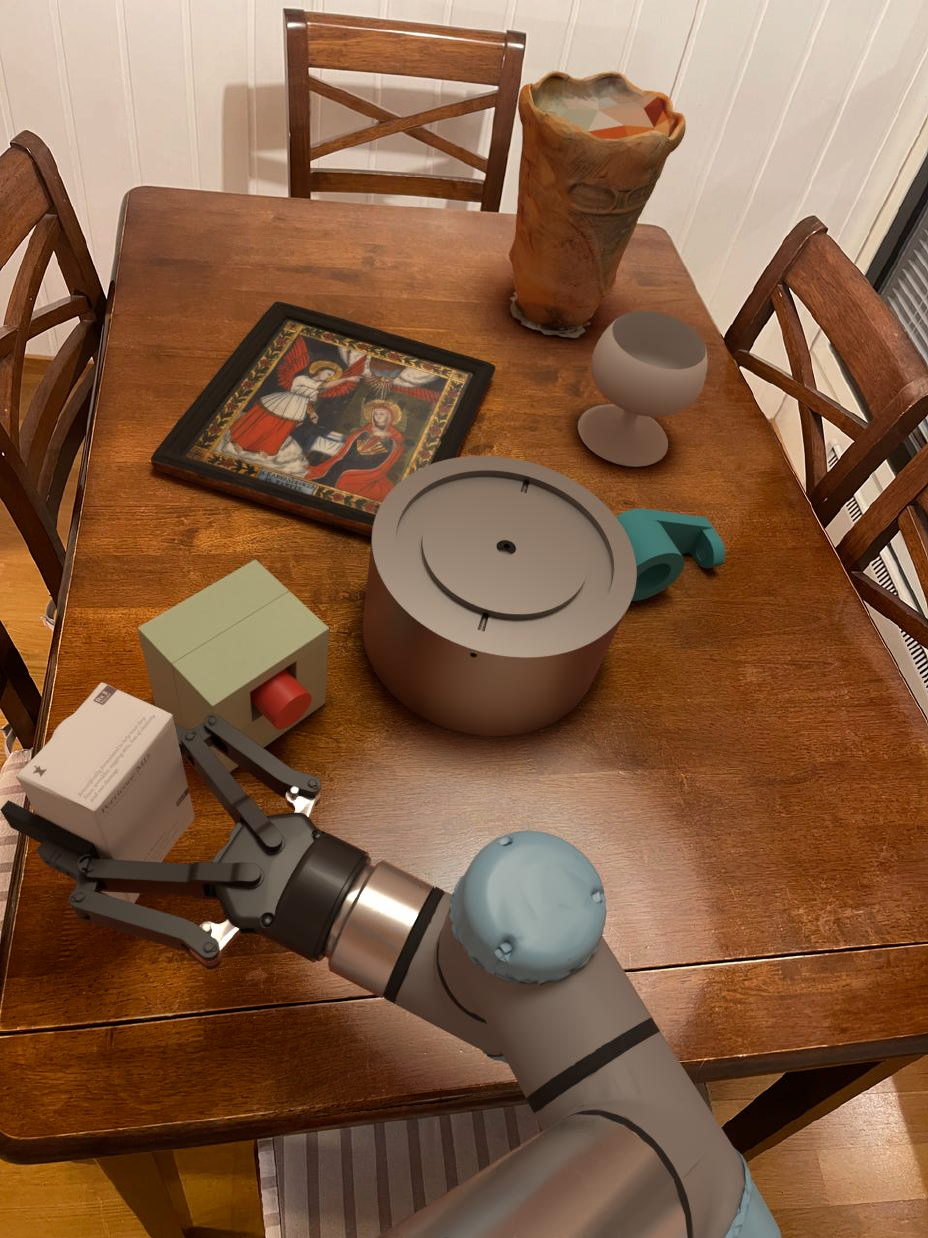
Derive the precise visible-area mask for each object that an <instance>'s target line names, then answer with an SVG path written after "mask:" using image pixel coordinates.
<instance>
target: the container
mask: <svg viewBox="0 0 928 1238" xmlns="http://www.w3.org/2000/svg"><path fill="white" fill-rule="evenodd" d="M367 568H368V570H367V578H366V589H365V590H366V591H365V598H364V608H363V618H362V639H363V644H364V648H365V653H366V656H367V658H368V660H369V664H370V665H371V667H372V669H373V671H374V673H375V674H376V676H377V677H378V679H379V680H380V682H381V683H382V684H383V686H384V687H385V688H386V689H387V690H388V692H389V693H390V694H391V695H392V696H393V697H394V698H395V699H396V700H397V701H399V702H400V703H401V704H402V705H404V706H405V707H406V708H407V709H408V710H410V711H412V712H413V713H415V714H416V715H418V716H419V717H421V718H423V719H425V720H427V721H428V722H431V723H433V724H435V725H437V726H440V727H442V728H446V729H448V730H451V731H455V732H458V733H463V734H467V735H473V736H478V737H479V736H480V737H481V736H483V737H509V736H515V735H516V736H518V735H522V734H523V735H524V734H528V733H531V732H535V731H537V730H540V729H542V728H545V727H547V726H549V725H552V724H554V723H556V722H557V721H559V720H561V719H562V718H563V717H565V716H566V715H568V713H570V712H572V710H573V709H575V707H577V705H578V704H580V702H581V701H582V700H583V699H584V697H585V696H586V695H587V693H588V691H589V689H590V687H591V685H592V683H593V681H594V679H595V677H596V675H597V674H598V672H599V669H600V667H601V665H602V662H603V660H604V658H605V656H606V655H607V652H608V651H609V648H610V646H611V644H612V642H613V640H614V638H615V636H616V633H617V631H618V630H619V628H620V626H621V624H622V621H623V619H624V617H625V615H626V613H627V611H628V609H629V607H630V605H631V602H632V601H631V600H632V598H633V594H634V591H635V586H636V578H637V569H636V560H635V555H634V551H633V548H632V545H631V542H630V540H629V538H628V536H627V534H626V532H625V530H624V528H623V527H622V525H621V524H620V522H619V521H618V519H617V518H616V515H615V514H614V512H613V511H612V510H610V508H609V507H608V506H607V505H606V504H605V503H604V502H603V501H602V500H601V499H600V498H599V497H597V496H596V495H595V494H594V493H593V492H592V491H590V490H589V489H588V488H586V487H585V486H583V485H582V484H580V483H578V482H577V481H575V480H574V479H572V478H570V477H568V476H566V475H564V474H562V473H561V472H558V471H557V470H555V469H554V470H553V469H551V468H549V467H546V466H544V465H540V464H537V463H535V462H531V461H528V460H523V459H520V458H519V459H518V458H513V457H508V456H507V457H506V456H497V455H468V456H467V455H465V456H459V457H458V456H457V458H452V459H447V460H443V461H440V462H436V463H433V464H431V465H428V466H426V467H423V468H421V469H419V470H417V471H415V472H414V473H412V474H410V475H409V476H407V477H406V478H404V479H403V480H402V481H401V482H399V483H398V484H397V485H396V486H395V487H394V488H393V489H392V490H391V491H390V492H389V494H388V495H387V496H386V498H385V499H384V501H383V502H382V504H381V506H380V508H379V510H378V512H377V514H376V517H375V520H374V525H373V531H372V537H371V541H370V550H369V561H368V567H367Z"/></svg>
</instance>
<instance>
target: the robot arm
mask: <svg viewBox="0 0 928 1238" xmlns="http://www.w3.org/2000/svg"><path fill="white" fill-rule="evenodd" d="M174 725H175V729H176V734H177V739H178V743H179V748H180V752H181V755H183V756H184V760H185V762H186V764H188V763H189V764H190V766H191V767H192V768H193V770H194V771H195V773H197V775H198V776H199V777H200V778H201V780H202V781H203V782H204V784H205V785H206V786H207V788H208V789H209V790H210V792H211V793H212V794H213V796H214V797H215V798H216V800H217V801H218V802H219V803H220V805H221V806H222V807H223V809H224V810H225V811H226V812H227V814H228V815H229V816H230V817H231V819H232V820H233V822H234V824H235V826H234V827H233V829H232V830H231V832H230V834H229V837H228V840H227V843H226V844H224V845H223V846H222V847H221V848H220V849H219V850H218V851H217V852H216V854H215V855H214V857H213V858H212V860H210V861H195V862H193V863H180V862H163V861H162V862H145V861H127V860H109V859H100V858H99V855H98V853H97V851H96V849H95V846H94V844H92V843H90V842H88V841H86V840H84V839H82V838H80V837H78V836H76V835H74V834H73V833H71V832H69V831H67V830H65V829H63V828H61V827H59V826H57V825H55V824H53V823H51V822H49V821H48V820H46V819H44V818H42V817H40V816H38V815H36V813H35V812H33V811H30V810H29V809H26V808H25V807H23V806H21V805H19V804H16V803H15V802H13V801H11V800H9V799H8V800H7V801H6V802H5V803H4V805H2V806H1V808H0V812H1V814H2V815H3V817H4V819H5V820H6V822H7V824H8V826H9V827H10V828H11V829H13V830H15V831H16V832H18V833H20V834H22V835H24V836H26V837H28V838H30V839H32V840H34V841H36V842H37V843H39V845H38V847H37V848H35V851H36V852H37V854H38V855H39V857H40V859H41V860H42V862H43V864H45V865H46V866H47V867H50V869H51V868H52V869H53V870H55V871H57V872H59V873H60V874H62V875H65V876H66V877H69V878H70V879H72V880H74V881H75V882H76V883H75V886H74V889H73V890H72V891H71V893H70V894H69V896H68V903H69V905H70V907H71V908H72V910H73V912H74V914H75V915H76V917H77V919H79V920H80V921H83V922H86V923H90V924H92V925H96V926H99V927H102V928H106V929H109V930H113V931H115V932H119V933H122V934H126V935H129V936H132V937H137V938H140V939H141V940H146V941H149V942H151V943H152V942H153V943H156V944H158V945H163V946H166V947H169V948H172V949H176V950H179V951H182V952H185V953H186V954H188V955H189V956H190V957H191V958H192V959H194V960H195V961H196V962H198V964H200V965H201V966H202V967H204V968H205V969H206V970H216V969H218V967H220V966H221V964H222V961H223V954H224V953H225V952H226V951H227V949H228V948H229V947H230V946H231V945H232V943H234V941H235V940H236V939H237V937H239V935H258V936H261V937H263V938H265V939H267V940H268V941H271V942H273V943H275V944H277V945H278V946H280V947H282V948H284V949H286V950H288V951H290V952H292V953H294V954H296V955H298V956H300V957H302V958H304V959H305V960H307V961H310V962H312V963H314V964H315V963H316V962H321V961H322V960H324V959H325V958H327V959H328V961H327V967H328V970H329V972H331V973H333V974H335V975H336V976H339V977H341V978H343V980H346V981H348V982H350V983H352V984H354V985H356V986H357V987H360V988H361V989H363V990H365V991H368V992H369V993H371V994H373V995H375V996H377V997H379V998H380V999H384V1000H386V1001H388V1002H390V1003H392V1004H393V1005H396V1006H398V1007H399V1008H401V1009H403V1010H405V1011H407V1012H409V1013H410V1014H413V1015H414V1016H416V1017H418V1018H420V1019H422V1020H423V1021H426V1022H427V1023H429V1024H431V1025H433V1026H435V1027H436V1028H439V1029H441V1030H442V1031H445V1032H446V1033H448V1034H450V1035H452V1036H454V1037H456V1038H458V1039H459V1040H461V1041H462V1042H465V1043H466V1044H469V1045H470V1046H472V1047H474V1048H476V1049H478V1050H480V1051H481V1052H482V1053H483V1054H485V1055H486V1057H487V1058H489V1059H491V1060H492V1061H498V1062H503V1063H505V1064H508V1067H509V1069H510V1070H511V1072H512V1074H513V1076H514V1078H515V1080H516V1081H517V1084H518V1086H519V1088H520V1090H521V1091H522V1093H523V1095H524V1098H525V1100H526V1101H527V1103H528V1106H529V1107H530V1109H531V1112H532V1113H533V1114H534V1115H533V1116H534V1117H535V1119H536V1121H537V1123H538V1124H539V1126H540V1130H542V1131H540V1132H539V1133H537V1134H535V1135H534V1136H533V1137H530V1139H528V1140H526V1141H525V1142H523V1143H521V1144H520V1145H519V1146H517V1147H516V1148H514V1149H512V1150H511V1151H509V1152H507V1153H506V1154H504V1155H503V1156H501V1157H499V1158H498V1159H497V1160H495V1161H494V1162H492V1163H491V1164H489V1165H487V1166H486V1167H484V1168H482V1169H481V1170H479V1171H478V1172H476V1173H475V1174H473V1175H472V1176H470V1177H468V1178H466V1179H465V1180H463V1181H462V1182H461V1183H458V1184H457V1185H456V1186H454V1187H453V1188H451V1189H450V1190H448V1191H446V1192H445V1193H443V1194H442V1195H440V1196H439V1197H437V1198H435V1199H434V1200H433V1201H431V1202H430V1203H428V1204H426V1205H424V1206H423V1207H421V1208H420V1209H418V1210H417V1211H415V1212H414V1213H412V1214H411V1215H409V1216H407V1217H406V1218H404V1219H403V1220H400V1221H399V1222H397V1224H394V1225H393V1226H391V1227H390V1228H389V1229H387V1230H386V1231H384V1232H381V1234H379V1235H378V1236H376V1237H375V1238H782V1234H781V1233H782V1232H781V1230H780V1228H779V1225H778V1223H777V1221H776V1219H775V1218H774V1216H773V1214H772V1212H771V1210H770V1209H769V1207H768V1205H767V1203H766V1202H765V1200H764V1198H763V1196H762V1194H761V1193H760V1191H759V1188H758V1187H757V1185H756V1183H755V1182H754V1180H753V1178H752V1174H751V1170H750V1168H749V1166H747V1161H746V1159H745V1158H744V1156H743V1155H742V1153H740V1151H738V1150H737V1148H735V1147H734V1146H733V1144H732V1142H731V1141H730V1139H729V1138H728V1136H727V1135H726V1133H725V1131H724V1129H723V1128H722V1127H721V1125H720V1123H719V1122H718V1121H717V1119H716V1117H715V1116H714V1114H713V1112H712V1111H711V1110H710V1108H709V1106H708V1104H707V1103H706V1102H705V1100H704V1099H703V1096H702V1095H701V1094H700V1092H699V1091H698V1088H697V1087H696V1086H695V1083H693V1081H692V1080H691V1078H690V1076H689V1075H688V1072H687V1071H686V1070H685V1068H684V1067H683V1065H682V1064H681V1062H680V1060H679V1059H678V1057H677V1055H676V1054H675V1052H674V1050H673V1049H672V1048H671V1045H670V1044H669V1042H668V1041H667V1039H666V1038H665V1036H664V1034H663V1032H661V1030H660V1027H658V1025H657V1023H656V1022H655V1020H654V1019H653V1016H652V1015H651V1013H650V1011H649V1009H648V1008H647V1005H645V1003H644V1000H643V999H642V998H641V996H640V994H639V993H638V990H637V989H636V988H635V987H634V985H633V983H632V981H631V980H630V978H629V976H628V975H627V974H626V971H625V970H624V968H623V967H622V965H621V963H620V962H619V960H618V959H617V957H616V955H615V954H614V952H613V950H612V949H611V948H610V946H609V944H608V942H607V941H606V939H605V937H604V929H605V927H606V921H607V913H608V911H607V898H606V896H605V888H604V885H603V882H602V878H601V876H600V874H599V872H598V871H597V869H596V868H595V866H594V865H593V864H592V862H591V861H590V859H589V858H588V857H587V856H586V855H585V854H584V853H583V852H582V851H581V850H580V849H579V848H577V847H576V846H575V845H573V844H572V843H570V842H569V841H567V840H565V839H564V838H562V837H560V836H557V835H554V834H552V833H551V834H550V833H547V832H543V831H539V830H538V831H537V830H521V831H513V832H509V833H507V834H504V835H501V836H498V837H496V838H495V839H493V840H492V841H490V842H489V843H487V844H486V845H485V846H483V847H482V848H481V849H480V850H479V852H478V853H477V854H476V855H475V856H474V858H473V859H472V861H471V862H470V864H469V866H468V867H467V869H466V871H465V872H464V874H463V875H462V876H460V877H459V879H458V880H457V883H456V884H455V885H454V888H453V892H452V893H450V892H448V891H445V890H443V889H442V888H440V887H439V886H435V885H433V884H431V883H430V882H428V881H426V880H424V879H422V878H420V877H418V876H416V875H414V874H412V873H410V872H408V871H406V870H404V869H403V868H400V867H399V866H396V865H395V864H392V863H391V862H388V861H387V860H381V861H379V862H377V863H376V864H375V865H374V864H372V857H370V854H369V852H368V851H366V850H364V849H363V848H362V849H361V848H360V847H358V846H356V845H353V844H352V843H349V842H348V841H345V840H343V839H342V838H339V837H337V836H335V835H333V834H332V833H330V832H327V831H323V830H321V829H320V828H318V827H317V826H316V825H315V824H314V822H313V821H312V819H311V816H312V814H313V812H314V808H315V807H317V806H318V805H319V804H320V803H321V800H322V781H321V779H320V778H319V777H318V776H315V775H312V774H309V773H306V772H303V771H299V770H295V769H293V768H292V767H291V766H289V765H287V764H286V763H284V761H282V760H281V759H280V758H278V757H276V756H275V755H274V754H272V753H271V752H270V751H268V750H266V749H265V747H264V748H263V747H261V746H260V745H258V744H257V743H256V742H254V741H253V740H252V739H250V738H249V737H247V736H246V735H245V734H243V733H242V732H241V731H239V730H238V729H236V728H235V727H234V726H232V725H231V724H230V723H228V722H227V721H225V720H224V719H223V718H221V717H220V716H218V715H216V714H211V715H208V716H207V717H206V718H205V719H204V722H203V723H202V724H200V725H199V726H198V727H196V728H193V729H185V728H183V727H181V726H179V725H177V724H175V723H174ZM211 746H213V747H214V748H216V749H217V750H218V751H220V752H221V753H222V754H224V755H225V756H226V757H228V758H229V759H230V760H232V761H233V762H235V763H236V764H237V765H239V766H238V767H240V768H241V769H243V770H244V771H245V772H247V773H248V774H249V775H250V776H252V777H254V778H255V779H256V780H257V781H259V782H260V783H261V784H263V785H264V786H265V787H267V788H268V789H269V790H271V791H272V792H273V793H275V794H276V795H277V796H279V797H281V798H283V799H285V803H286V805H287V807H289V808H290V809H292V810H293V812H285V813H279V814H269V815H266V814H265V813H264V811H263V810H262V809H261V808H260V807H259V805H258V804H257V803H256V801H255V800H254V798H252V797H251V796H250V795H248V794H247V793H246V792H245V790H244V789H243V788H242V786H241V785H240V784H239V783H238V781H237V780H236V779H235V777H234V776H233V775H232V774H231V772H228V770H227V769H226V768H225V767H224V765H223V764H222V763H221V761H220V760H219V759H218V758H217V756H216V755H215V754H214V753H213V751H212V750H211V749H210V748H209V747H211ZM103 892H121V893H140V895H141V894H144V895H161V896H162V895H163V896H179V897H181V896H183V897H192V898H194V899H197V900H204V901H205V900H206V901H218V902H219V904H220V907H221V909H222V912H223V914H224V915H225V919H226V920H225V921H223V922H222V923H221V922H220V923H215V922H212V921H204V922H202V923H201V924H196V923H195V922H194V921H191V920H189V919H187V918H184V917H180V916H178V915H174V914H171V913H167V912H165V911H161V910H157V909H154V908H151V907H148V906H144V905H142V904H141V905H140V904H137V903H131V902H128V901H124V900H121V899H118V898H114V897H111V896H109V895H107V894H105V893H103Z"/></svg>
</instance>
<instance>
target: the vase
mask: <svg viewBox="0 0 928 1238" xmlns="http://www.w3.org/2000/svg"><path fill="white" fill-rule="evenodd" d="M517 109H518V115H519V120H520V124H521V126H522V127H521V130H522V131H521V132H522V133H521V137H522V140H521V151H520V152H521V153H520V159H519V170H518V184H517V187H518V188H517V189H518V190H517V191H518V192H517V200H516V201H517V202H516V203H517V204H516V205H517V208H516V213H515V214H516V215H515V216H516V217H515V218H516V219H515V234H514V239H513V242H512V245H511V247H510V251H509V253H508V258H509V262H510V263H511V266H512V271H513V285H514V291H515V292H513V295H514V296H511V297H509V299H510V301H512V303H511V304H510V307H509V309H510V312H511V315H512V317H513V318H515V319H517V320H519V321H521V322H520V325H522V326H525V327H527V328H530V329H531V330H534V331H535V330H536V331H540V332H541V333H542V334H543V335H547V336H552V335H557V336H559V337H562V338H572V339H576V338H579V337H580V335H582V334H584V333H585V332H586V329H585V327H587V326H590V325H591V322H589V319H590V318H592V317H593V315H594V313H595V312H596V310H597V309H598V307H599V306H600V304H601V302H602V300H603V299H604V298H605V297H607V296H609V295H610V294H611V293H612V292H613V290H614V287H615V284H616V281H617V272H618V269H619V267H620V264H621V263H622V259H623V256H624V254H625V252H626V249H627V247H628V245H629V243H630V240H631V238H632V237H633V234H634V232H635V230H636V227H637V224H638V220H639V219H640V217H641V216H642V213H643V211H644V209H645V207H646V204H647V202H649V199H650V198H651V196H652V194H653V192H654V190H655V187H656V185H657V182H658V181H659V179H660V178H661V175H662V173H663V170H664V168H665V164H666V161H667V159H668V157H669V156H670V154H671V153H673V152H674V151H675V150H676V149H678V147H679V146H680V144H681V143H682V142H683V139H684V137H685V133H686V131H687V129H686V128H687V126H686V117H685V115H684V114H683V113H682V112H677V111H675V109H674V104H673V102H672V99H671V97H669V96H668V95H666V94H665V93H664V92H660V91H655V90H643V89H642V88H640V87H638V86H636V85H634V84H633V83H632V81H630V80H629V79H628V78H627V77H626V75H624V74H623V73H621V72H618V71H616V70H610V71H602V72H600V73H595V74H593V75H589V76H586V77H584V78H578V77H573V76H571V75H570V74H569V73H566V72H563V71H559V70H552V71H549V72H547V74H545V75H544V76H543V77H541V78H540V79H538V81H537V82H535V83H531V82H530V83H527V84H525V85H523V86H522V88H521V89H520V90H519V95H518V103H517Z"/></svg>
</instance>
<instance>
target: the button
mask: <svg viewBox="0 0 928 1238" xmlns="http://www.w3.org/2000/svg"><path fill="white" fill-rule="evenodd" d="M250 700H251V703H252V704H253V705H254V706H255V707H256V708H257V709H258V710H259V711H260V712H261V713H262V714H263V715H264V717H265V718H266V719H267V720H268V721H269V722H270V723H271V724H272V725H273V726H274V727H275V728H276V729H285V728H287V727H289V726H291V725H292V724H294V723H295V722H296V721H297V720H299V719H300V718H301V717H302V716H303V714H304V713H305V712H306V711H307V709H308V708H309V706H310V704H311V701H312V696H311V694H310V693H309V692H308V691H307V690H306V689H305V688H304V687H303V686H302V685H301V684H300V683H299V682H298V681H297V680H296V679H295V678H294V677H293V676H292V675H290V674H289V673H288V672H287V671H286V670H285V669H283V670H282V671H280V672H279V673H277V674H276V675H275V676H273V677H272V678H270V679H269V680H267V681H266V682H264V683H263V684H261V685H260V686H258V687H257V688H255V689H254V690H252V691H251V692H250Z"/></svg>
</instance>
